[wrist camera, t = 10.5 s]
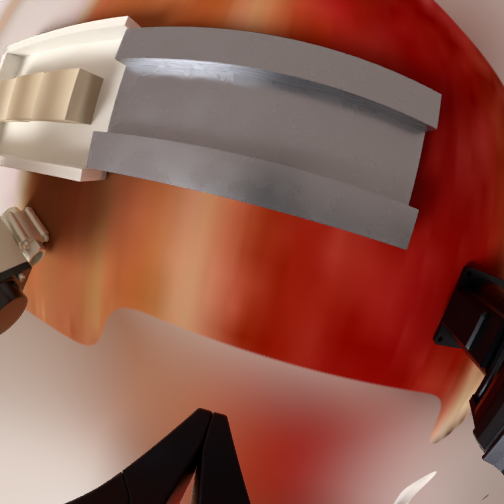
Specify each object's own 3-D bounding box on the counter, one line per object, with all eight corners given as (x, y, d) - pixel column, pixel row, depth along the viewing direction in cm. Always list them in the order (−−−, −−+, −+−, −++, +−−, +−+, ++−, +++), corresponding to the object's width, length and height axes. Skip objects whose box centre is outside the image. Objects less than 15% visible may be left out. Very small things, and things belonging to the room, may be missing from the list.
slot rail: (423, 103, 15) (441, 94, 12) (391, 240, 17) (406, 249, 15) (142, 42, 15) (126, 28, 13) (107, 167, 18) (86, 167, 15)
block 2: (68, 79, 16) (44, 71, 13) (56, 121, 17) (31, 118, 14) (39, 82, 16) (16, 76, 13) (29, 121, 17) (5, 118, 14)
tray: (146, 32, 15) (128, 15, 12) (105, 179, 18) (80, 181, 15) (25, 52, 16) (6, 46, 13) (-3, 160, 19) (-23, 161, 16)
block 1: (39, 83, 16) (16, 77, 13) (29, 121, 17) (5, 119, 14) (17, 86, 16) (-4, 82, 13) (8, 122, 17) (-14, 120, 14)
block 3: (103, 78, 16) (79, 68, 13) (90, 124, 17) (64, 119, 14) (67, 80, 16) (43, 72, 13) (56, 122, 17) (30, 119, 14)
